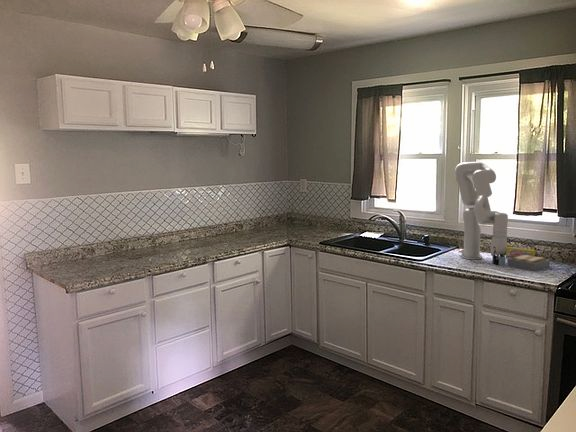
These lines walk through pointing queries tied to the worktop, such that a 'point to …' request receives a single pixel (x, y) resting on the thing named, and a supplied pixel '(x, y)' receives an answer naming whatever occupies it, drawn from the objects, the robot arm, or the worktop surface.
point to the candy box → (518, 252)
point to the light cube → (500, 260)
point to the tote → (528, 264)
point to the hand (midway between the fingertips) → (498, 264)
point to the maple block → (529, 258)
